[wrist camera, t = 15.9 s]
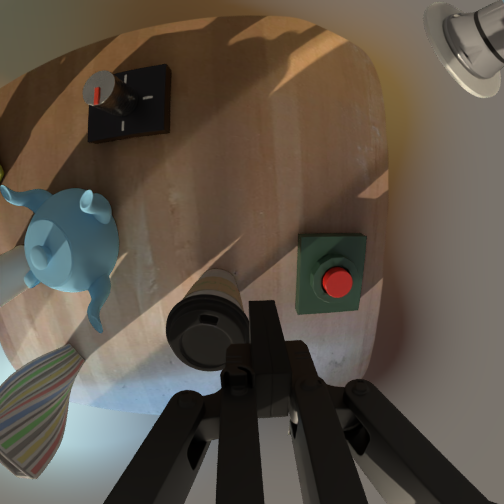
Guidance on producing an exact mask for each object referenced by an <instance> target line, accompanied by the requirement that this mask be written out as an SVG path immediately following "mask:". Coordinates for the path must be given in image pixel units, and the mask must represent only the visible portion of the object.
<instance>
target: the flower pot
mask: <svg viewBox="0 0 504 504" xmlns="http://www.w3.org/2000/svg"><path fill="white" fill-rule="evenodd" d="M3 176H4V171H3V169H2V167H1V164H0V181H1V180H2V178H3Z"/></svg>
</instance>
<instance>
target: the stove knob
mask: <svg viewBox="0 0 504 504" xmlns="http://www.w3.org/2000/svg"><path fill="white" fill-rule="evenodd" d="M83 98H84V101H85V102H86V103H87V104H89V105H91V106H94V107H96V108H99V109H101V110H104V111H106V112H109V113H111V114H113V115H116V116H119V117H122V116H126V115H128V114H130V113H131V112H132V111H133V110H134V109H135V108H136V106H137V103H138V94H137V92H136V91H135V90H134V89H133V88H131V87H130V86H129V85H127V84H126V83H125V82H123V81H122V80H120V79H119V78H118V77H116V76H115V75H113V74H112V73H111V72H109V71H99V72H97V73H95V74H93V75H92V76H91V77H90V78H89V79H88V80H87V82H86V83H85V85H84V88H83Z"/></svg>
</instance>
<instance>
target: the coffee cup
mask: <svg viewBox="0 0 504 504" xmlns="http://www.w3.org/2000/svg"><path fill="white" fill-rule="evenodd" d="M166 336H167V340H168V343H169V345H170V347H171V348H172V350H173V352H174V353H175V355H176V356H177V357H178V358H179V359H180V360H181V361H182V362H183V363H185V364H186V365H188V366H190V367H192V368H195V369H198V370H202V371H219V370H223V369H224V368H225V361H226V349H227V348H228V347H229V346H230V344H245V343H250V338H249V320H248V318H247V316H246V315H245V313H244V310H243V305H242V301H241V297H240V293H239V291H238V289H237V284H236V281H235V278H234V277H233V276H232V275H231V274H230V273H229V272H227V271H225V270H221V269H211V270H208V271H206V272H205V273H204V274H203V275H202V276H201V277H200V278H199V280H198V281H197V282H196V283H195V284H194V285H193V286H192V287H191V289H190V290H189V291H188V293H187V294H186V295H185V297H184V298H183V300H182V301H180V302H179V303H177V304H176V305H175V306H174V307H173V309H172V310H171V311H170V313H169V315H168V318H167V323H166Z"/></svg>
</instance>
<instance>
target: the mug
mask: <svg viewBox="0 0 504 504" xmlns="http://www.w3.org/2000/svg"><path fill="white" fill-rule="evenodd" d="M29 271H30V267H29V265H28V262H27V259H26V255H25V249H24V246H22V245H18V246H16V247H15V248H14V249H12V250H10V251H8V252H6V253H3V254H1V255H0V307H2V306H3V305H5V304H6V303H7V302H9V301H10V300H12V299H13V298H15V297H16V296H18V295H19V294H20V293H22V292H23V291H25V290H26V289H28V288H29V287H27V285H26V284H25V282H24V277H25V275H26V274H27V273H28V272H29Z"/></svg>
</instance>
